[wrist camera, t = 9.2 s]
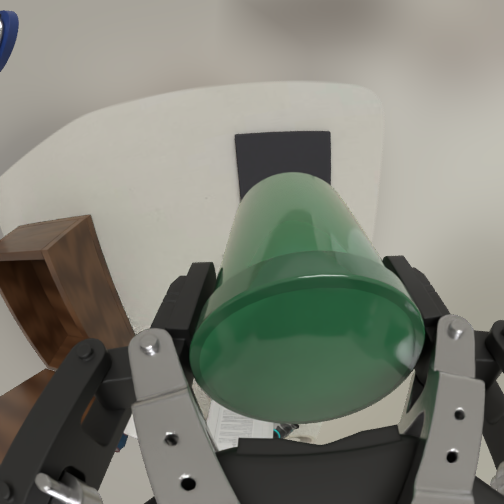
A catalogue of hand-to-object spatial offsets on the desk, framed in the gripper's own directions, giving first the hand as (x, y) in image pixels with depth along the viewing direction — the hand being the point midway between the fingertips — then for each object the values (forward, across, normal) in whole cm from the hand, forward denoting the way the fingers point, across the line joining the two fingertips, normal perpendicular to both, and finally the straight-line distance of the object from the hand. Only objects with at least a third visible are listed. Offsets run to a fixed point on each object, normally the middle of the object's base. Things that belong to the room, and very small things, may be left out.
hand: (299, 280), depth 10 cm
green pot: (+5, 0, 0) cm, 5 cm away
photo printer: (+16, +7, +34) cm, 38 cm away
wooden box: (+16, +28, +12) cm, 34 cm away
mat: (+16, 0, 0) cm, 16 cm away
